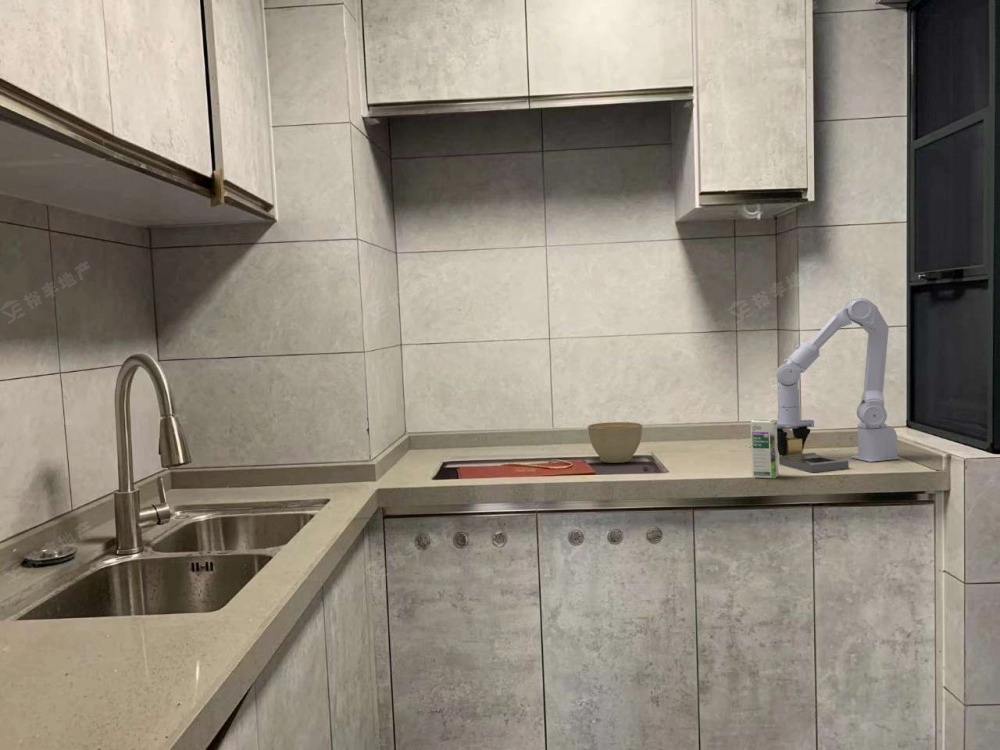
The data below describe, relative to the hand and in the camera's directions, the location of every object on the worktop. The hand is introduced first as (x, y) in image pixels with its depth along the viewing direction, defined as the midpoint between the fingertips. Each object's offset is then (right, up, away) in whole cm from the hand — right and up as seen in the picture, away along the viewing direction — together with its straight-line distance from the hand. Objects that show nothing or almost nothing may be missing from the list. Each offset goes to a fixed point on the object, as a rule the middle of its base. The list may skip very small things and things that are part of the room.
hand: (790, 454), depth 217 cm
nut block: (0, -2, 0) cm, 2 cm away
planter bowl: (-47, -4, +14) cm, 49 cm away
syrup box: (-14, -4, -21) cm, 26 cm away
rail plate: (+2, -2, -12) cm, 12 cm away
